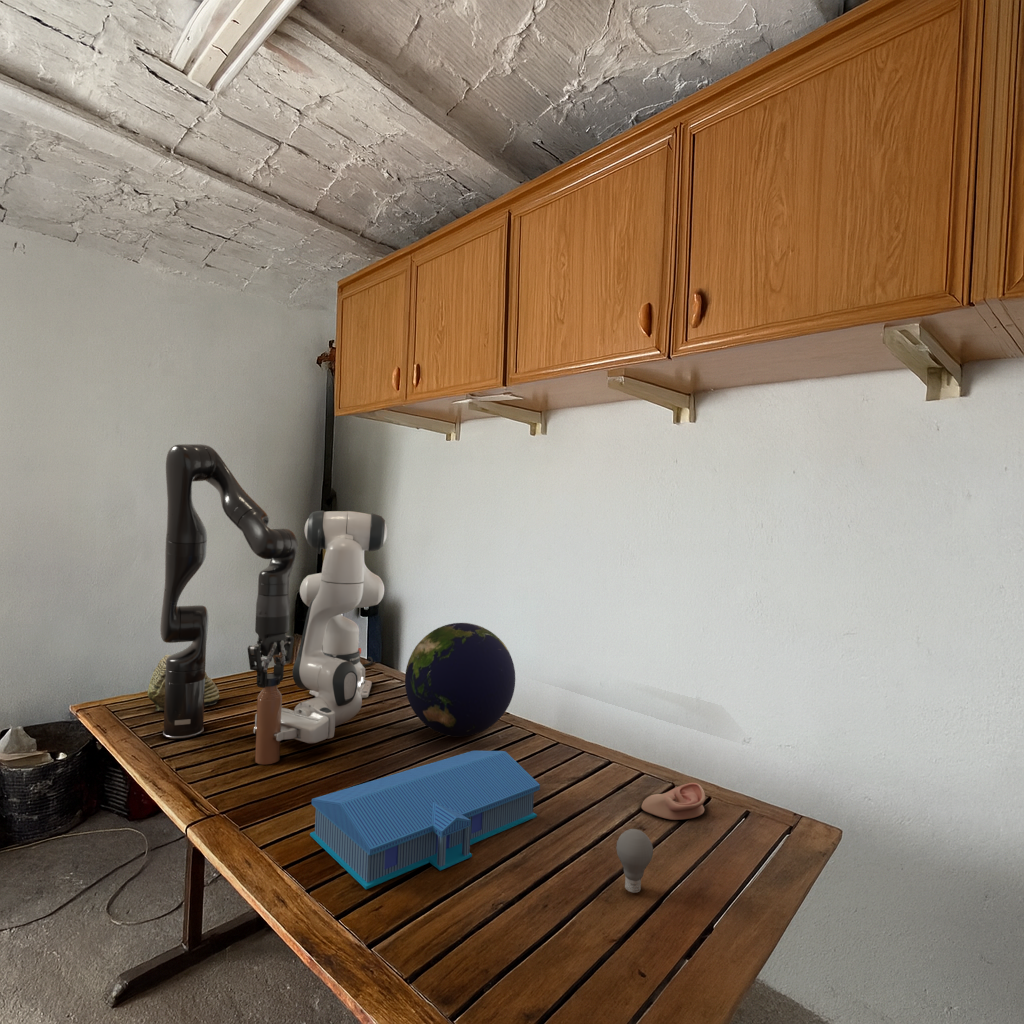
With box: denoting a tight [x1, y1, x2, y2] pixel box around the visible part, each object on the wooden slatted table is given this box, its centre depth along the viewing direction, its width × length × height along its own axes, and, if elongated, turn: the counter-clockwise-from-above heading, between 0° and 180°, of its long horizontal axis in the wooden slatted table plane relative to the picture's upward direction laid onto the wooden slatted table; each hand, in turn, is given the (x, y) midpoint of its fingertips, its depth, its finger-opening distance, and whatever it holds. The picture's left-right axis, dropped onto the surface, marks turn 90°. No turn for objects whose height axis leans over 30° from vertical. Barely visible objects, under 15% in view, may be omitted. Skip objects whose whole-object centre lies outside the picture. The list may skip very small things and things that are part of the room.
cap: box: [266, 673, 281, 687], centre depth 151 cm, size 4×4×2 cm
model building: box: [309, 750, 541, 890], centre depth 123 cm, size 39×24×10 cm, turn 132°
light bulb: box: [615, 828, 654, 894], centre depth 106 cm, size 6×6×10 cm
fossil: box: [147, 654, 221, 712], centre depth 185 cm, size 9×18×15 cm, turn 132°
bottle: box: [254, 685, 283, 765], centre depth 151 cm, size 6×6×19 cm
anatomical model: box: [640, 782, 706, 821], centre depth 135 cm, size 13×4×12 cm
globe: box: [404, 622, 516, 738], centre depth 173 cm, size 30×30×30 cm
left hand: (270, 683), depth 151 cm, fingers open, 5 cm apart
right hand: (265, 734), depth 150 cm, fingers closed on bottle, 5 cm apart
